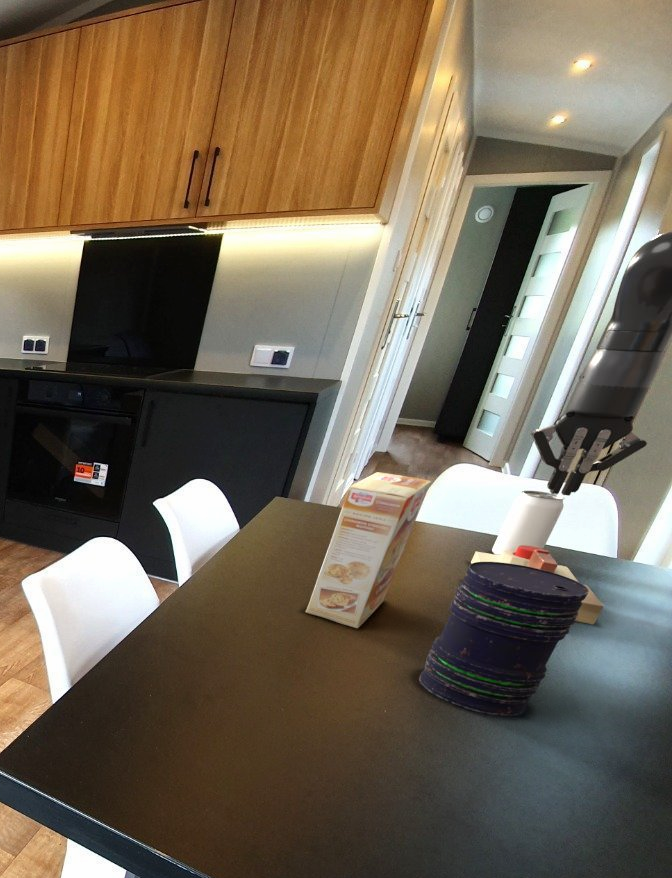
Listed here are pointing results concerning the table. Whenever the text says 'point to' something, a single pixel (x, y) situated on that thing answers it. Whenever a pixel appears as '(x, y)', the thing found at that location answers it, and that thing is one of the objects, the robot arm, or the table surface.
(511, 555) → the button box
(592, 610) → the holder base
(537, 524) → the can
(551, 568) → the holder
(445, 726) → the table surface
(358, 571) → the coffeecake box
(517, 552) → the button
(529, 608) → the dark blue barrel
